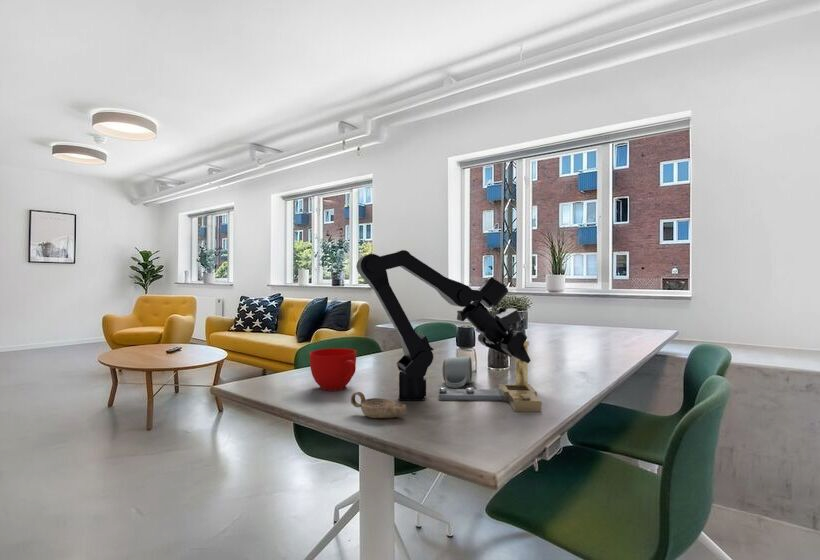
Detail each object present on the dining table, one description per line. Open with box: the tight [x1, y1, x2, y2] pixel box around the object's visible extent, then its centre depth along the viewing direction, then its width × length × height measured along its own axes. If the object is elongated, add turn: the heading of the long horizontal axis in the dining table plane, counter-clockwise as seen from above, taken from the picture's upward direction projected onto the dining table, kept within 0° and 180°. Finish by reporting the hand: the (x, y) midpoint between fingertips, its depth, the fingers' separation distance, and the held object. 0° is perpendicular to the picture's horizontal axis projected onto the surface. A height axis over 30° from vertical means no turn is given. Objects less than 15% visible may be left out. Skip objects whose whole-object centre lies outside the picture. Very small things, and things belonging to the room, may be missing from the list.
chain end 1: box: [438, 386, 526, 403], centre depth 111 cm, size 24×8×2 cm, turn 87°
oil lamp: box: [350, 391, 407, 419], centre depth 96 cm, size 13×8×5 cm, turn 66°
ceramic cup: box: [309, 347, 357, 391], centre depth 120 cm, size 13×17×10 cm
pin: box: [515, 340, 530, 384], centre depth 120 cm, size 4×4×13 cm
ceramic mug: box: [442, 356, 473, 389], centre depth 126 cm, size 11×8×8 cm
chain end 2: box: [498, 383, 542, 413], centre depth 107 cm, size 8×16×3 cm, turn 177°
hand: (520, 358), depth 120 cm, fingers open, 9 cm apart
